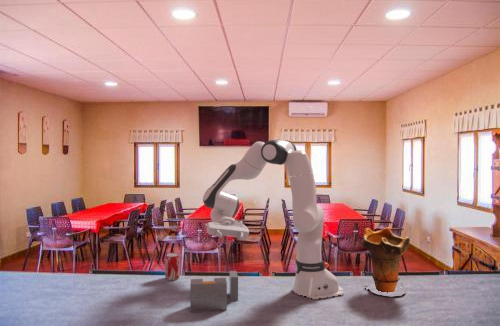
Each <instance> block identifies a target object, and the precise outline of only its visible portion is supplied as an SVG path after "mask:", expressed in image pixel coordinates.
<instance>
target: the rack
mask: <svg viewBox="0 0 500 326" xmlns="http://www.w3.org/2000/svg"><path fill="white" fill-rule="evenodd" d="M189 287H190V297H189V298H190V300H189V301H190V313H200V312H220V311H222V312H223V311H228V297H227V296H228V294H227V293H228V292H227V291H228V282H227V278H226V277H214V278H213V280H208V281H207V280H205V281H204V278H192V279H190V286H189Z"/></svg>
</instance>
